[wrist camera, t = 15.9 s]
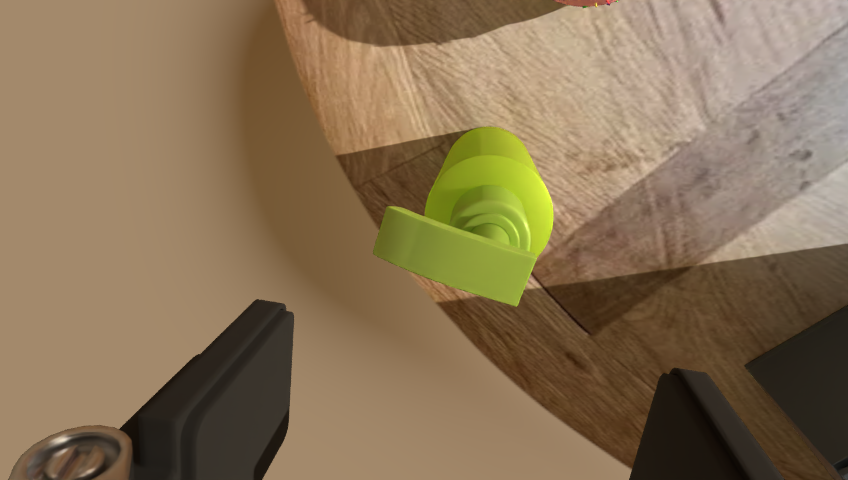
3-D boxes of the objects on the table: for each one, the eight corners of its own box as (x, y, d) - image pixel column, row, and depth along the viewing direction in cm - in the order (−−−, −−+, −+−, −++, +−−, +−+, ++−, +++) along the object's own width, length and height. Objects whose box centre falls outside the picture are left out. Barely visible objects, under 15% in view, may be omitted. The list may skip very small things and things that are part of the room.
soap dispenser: (446, 109, 36) (401, 151, 17) (544, 142, 36) (607, 221, 17) (420, 190, 38) (353, 309, 19) (512, 222, 38) (538, 372, 19)
